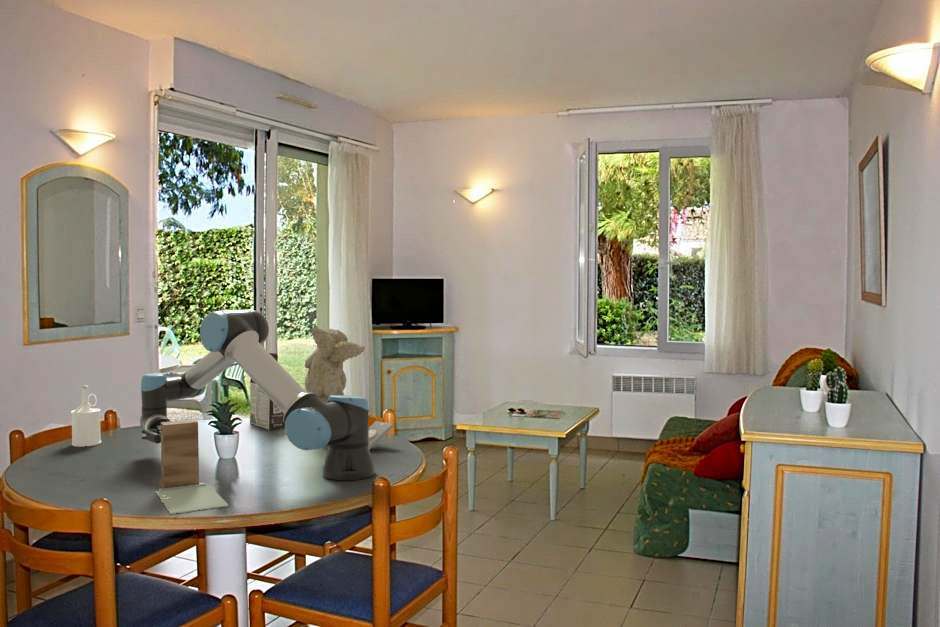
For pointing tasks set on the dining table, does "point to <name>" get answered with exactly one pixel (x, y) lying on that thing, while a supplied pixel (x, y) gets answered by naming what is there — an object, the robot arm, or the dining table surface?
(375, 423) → the light switch
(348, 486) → the dining table surface
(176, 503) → the mat
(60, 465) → the dining table surface
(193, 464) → the block
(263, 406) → the protein powder
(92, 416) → the white handled jug
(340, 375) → the sculpture
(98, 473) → the dining table surface
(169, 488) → the stop
